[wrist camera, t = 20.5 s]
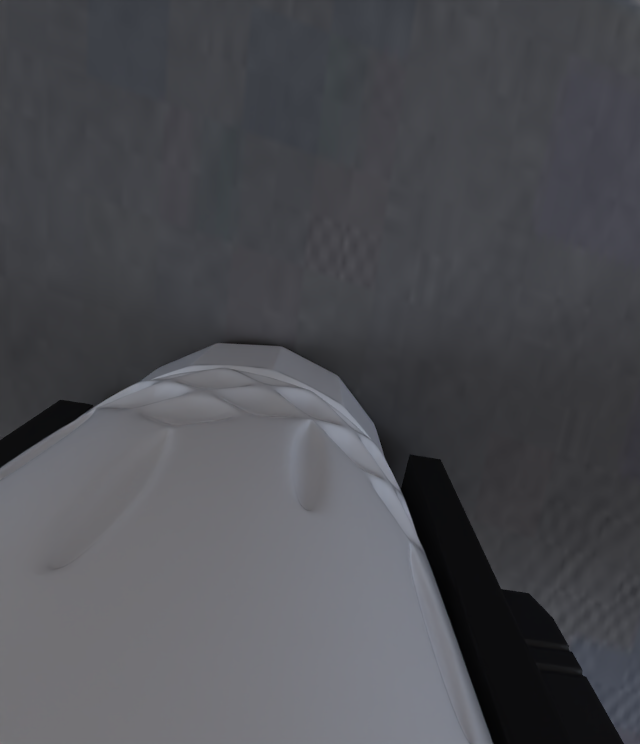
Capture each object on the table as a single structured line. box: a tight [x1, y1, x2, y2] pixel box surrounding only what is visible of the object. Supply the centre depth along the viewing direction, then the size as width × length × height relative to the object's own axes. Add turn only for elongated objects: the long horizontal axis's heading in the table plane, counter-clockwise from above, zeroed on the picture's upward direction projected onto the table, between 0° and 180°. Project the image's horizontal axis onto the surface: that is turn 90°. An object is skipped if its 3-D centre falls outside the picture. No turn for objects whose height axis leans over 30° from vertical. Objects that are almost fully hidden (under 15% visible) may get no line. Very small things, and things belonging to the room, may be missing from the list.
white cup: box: [0, 343, 493, 744], centre depth 7 cm, size 8×8×10 cm
